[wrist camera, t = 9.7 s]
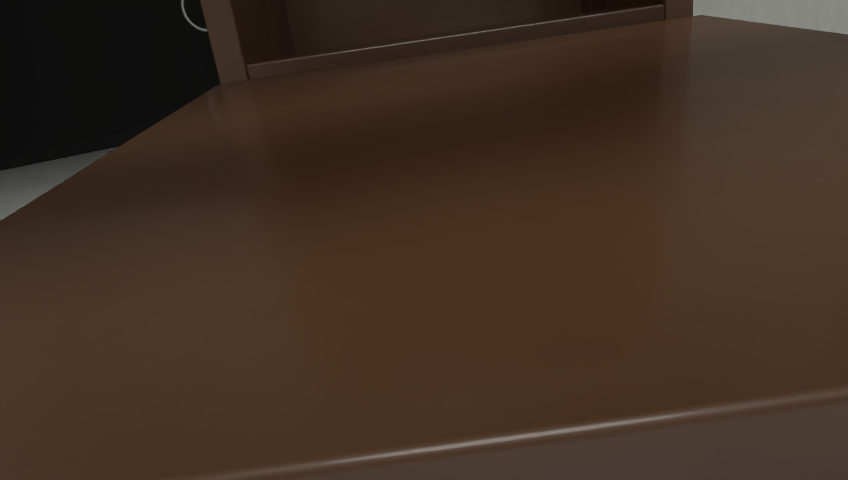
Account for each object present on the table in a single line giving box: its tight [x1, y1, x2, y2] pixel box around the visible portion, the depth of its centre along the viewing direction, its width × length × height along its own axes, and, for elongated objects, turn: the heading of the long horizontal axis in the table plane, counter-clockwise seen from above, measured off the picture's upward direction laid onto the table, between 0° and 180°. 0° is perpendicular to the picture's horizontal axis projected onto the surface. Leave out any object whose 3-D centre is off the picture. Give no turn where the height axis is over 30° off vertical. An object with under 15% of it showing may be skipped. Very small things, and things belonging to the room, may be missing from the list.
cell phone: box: [0, 0, 220, 171], centre depth 24 cm, size 9×18×1 cm, turn 101°
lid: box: [0, 15, 848, 480], centre depth 10 cm, size 14×13×5 cm
